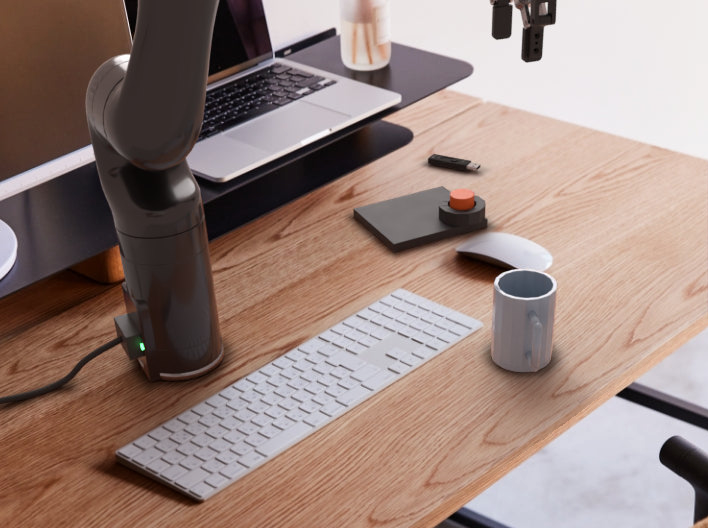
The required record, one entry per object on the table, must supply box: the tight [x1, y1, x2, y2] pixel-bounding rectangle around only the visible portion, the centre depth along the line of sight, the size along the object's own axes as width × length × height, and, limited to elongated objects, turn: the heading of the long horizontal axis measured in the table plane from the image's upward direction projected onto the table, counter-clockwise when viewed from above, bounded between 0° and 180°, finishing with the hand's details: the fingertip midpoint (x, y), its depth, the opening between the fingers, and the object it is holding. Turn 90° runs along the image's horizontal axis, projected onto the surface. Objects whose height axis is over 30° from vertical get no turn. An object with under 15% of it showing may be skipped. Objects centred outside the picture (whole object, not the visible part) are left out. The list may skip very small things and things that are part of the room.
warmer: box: [352, 185, 489, 253], centre depth 143 cm, size 15×13×3 cm
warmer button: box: [450, 188, 475, 210], centre depth 141 cm, size 3×3×2 cm
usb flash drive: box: [427, 153, 482, 172], centre depth 158 cm, size 8×2×1 cm, turn 59°
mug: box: [490, 268, 559, 373], centre depth 113 cm, size 9×6×9 cm
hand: (516, 49), depth 121 cm, fingers open, 8 cm apart
